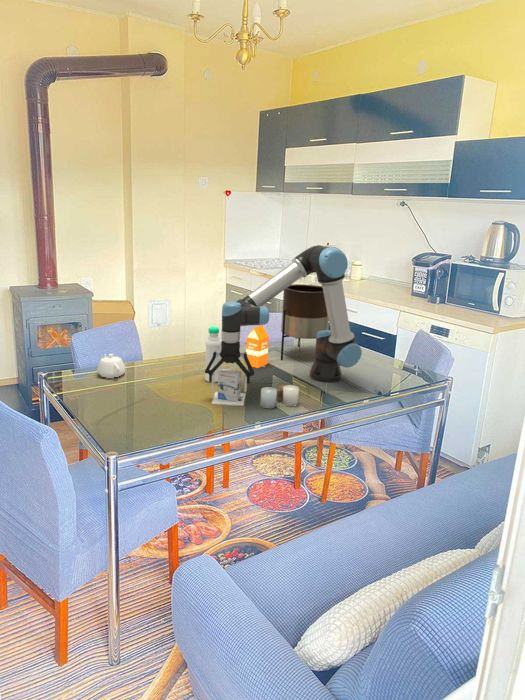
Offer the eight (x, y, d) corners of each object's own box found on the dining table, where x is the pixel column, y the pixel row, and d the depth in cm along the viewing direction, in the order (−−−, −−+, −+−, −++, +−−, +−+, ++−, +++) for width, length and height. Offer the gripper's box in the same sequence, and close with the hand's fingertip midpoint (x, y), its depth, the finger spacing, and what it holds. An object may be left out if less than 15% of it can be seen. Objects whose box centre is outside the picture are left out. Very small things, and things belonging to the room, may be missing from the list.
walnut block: (282, 396, 221) (282, 385, 219) (287, 400, 216) (288, 389, 215) (271, 397, 219) (272, 386, 217) (277, 401, 214) (277, 390, 213)
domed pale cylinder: (275, 403, 212) (276, 387, 210) (275, 409, 206) (276, 393, 204) (260, 402, 213) (261, 386, 211) (260, 408, 206) (260, 392, 204)
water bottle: (218, 383, 232) (219, 330, 225) (203, 381, 233) (203, 328, 226) (222, 378, 238) (223, 326, 231) (207, 377, 240) (208, 325, 233)
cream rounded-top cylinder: (297, 401, 216) (298, 385, 214) (297, 407, 210) (298, 391, 208) (282, 400, 216) (283, 384, 214) (282, 406, 210) (283, 390, 208)
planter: (275, 348, 290) (279, 282, 280) (319, 349, 293) (324, 284, 283) (282, 363, 265) (286, 291, 254) (330, 363, 268) (336, 293, 257)
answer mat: (245, 394, 220) (245, 393, 220) (243, 406, 208) (243, 404, 207) (215, 393, 220) (215, 391, 220) (211, 404, 208) (211, 403, 208)
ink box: (217, 398, 213) (217, 371, 209) (221, 394, 217) (222, 368, 214) (236, 401, 210) (237, 374, 207) (240, 397, 215) (241, 371, 212)
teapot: (91, 370, 241) (90, 350, 238) (117, 367, 248) (116, 346, 245) (104, 383, 225) (103, 361, 222) (132, 379, 232) (131, 358, 229)
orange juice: (267, 363, 263) (269, 326, 257) (258, 368, 256) (259, 329, 250) (254, 360, 267) (256, 323, 261) (245, 364, 260) (246, 326, 254)
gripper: (261, 339, 210) (259, 388, 216) (201, 336, 211) (200, 385, 217) (261, 344, 203) (258, 394, 209) (198, 341, 203) (197, 391, 209)
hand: (229, 389), depth 213 cm, fingers open, 13 cm apart
